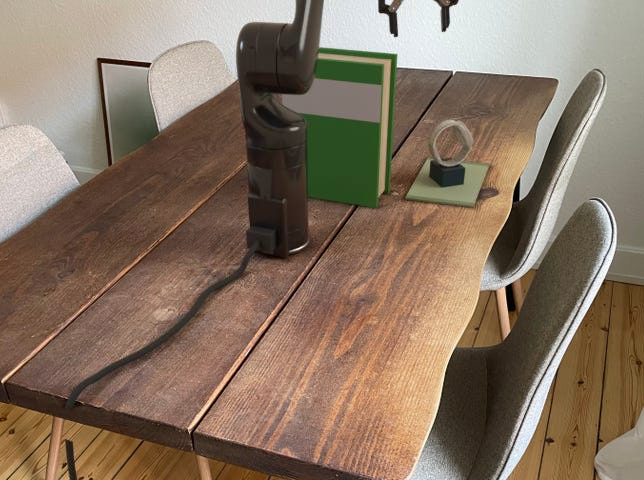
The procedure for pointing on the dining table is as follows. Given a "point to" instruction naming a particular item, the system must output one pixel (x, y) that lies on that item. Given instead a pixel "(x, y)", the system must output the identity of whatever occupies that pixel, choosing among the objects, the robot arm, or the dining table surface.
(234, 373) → the dining table surface
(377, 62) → the hardback book
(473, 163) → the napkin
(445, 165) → the watch
